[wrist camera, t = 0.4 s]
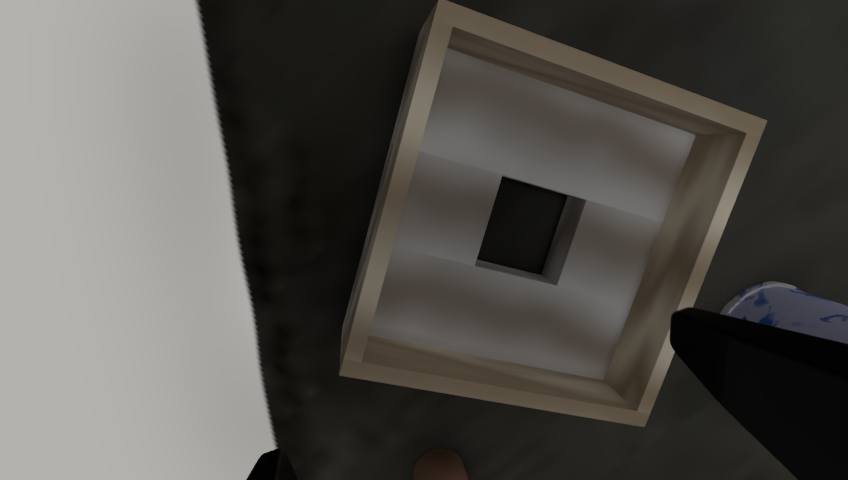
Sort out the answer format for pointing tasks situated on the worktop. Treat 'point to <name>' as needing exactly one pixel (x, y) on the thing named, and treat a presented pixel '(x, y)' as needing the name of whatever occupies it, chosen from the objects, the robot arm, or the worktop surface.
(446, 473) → the peg
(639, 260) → the tray
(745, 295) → the aerosol can
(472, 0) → the worktop surface
